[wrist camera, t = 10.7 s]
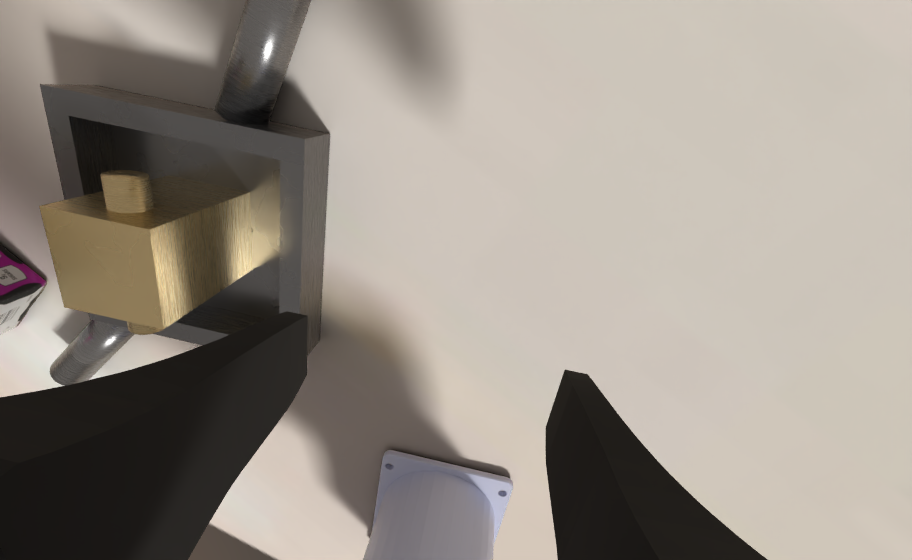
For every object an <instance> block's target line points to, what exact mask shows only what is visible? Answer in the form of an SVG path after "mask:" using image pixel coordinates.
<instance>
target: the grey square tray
mask: <svg viewBox="0 0 912 560" xmlns="http://www.w3.org/2000/svg"><path fill="white" fill-rule="evenodd" d="M40 87H41V92H42V97H43V101H44V106H45V111H46V115H47V120H48V125H49V129H50V134H51V139H52V143H53V148H54V153H55V157H56V162H57V167H58V171H59V176H60V181H61V185H62V190H63V195H64V199H65V200H67V199H71V198H76V197H80V196H84V195H88V194H93V193H97V192H101V191H103V187H102V181H101V176H100V174H101V173H103V172H106V171H113V170H132V171H139V172H144V173H147V174H148V175H149V178H150V180H152V179H156V178H160V177H165V176H174V177H179V178H184V179H188V180H193V181H198V182H203V183H208V184H213V185H218V186H222V187H227V188H232V189H237V190H242V191H247V192H250V205H251V235H252V266H253V270H251V271H250V272H248V273H247V274H245V275H244V276H242V277H241V278H239V279H238V280H236V281H235V282H233V283H232V284H230V285H229V286H227V287H226V288H224V289H223V290H221V291H220V292H218V293H217V294H216V295H214V296H213V297H211V298H210V299H208V300H207V301H205V302H204V303H202V304H201V305H199V306H198V307H196V308H195V309H193V310H192V311H190V312H189V313H187V314H186V315H184V316H183V317H181V318H180V319H178V320H177V321H175V322H174V323H172V324H171V325H169V326H168V327H166V328H165V329H164V330H162V331H159V332H157V333H153V334H156V335H161V336H165V337H169V338H174V339H178V340H182V341H187V342H191V343H195V344H200V345H205V344H208V343H211V342H213V341H216V340H218V339H221V338H223V337H225V336H228V335H230V334H233V333H235V332H237V331H240V330H242V329H244V328H247V327H249V326H251V325H254V324H256V323H258V322H261V321H263V320H265V319H268V318H270V317H273V316H275V315H278V314H280V313H283V312H286V311H288V312H293V313H297V314H302V315H307V316H308V328H307V356H308V354H309V353H310V352H311V351H312V349H313V348H314V347H315V346H316V344H317V343H318V342H319V340H320V320H321V301H322V282H323V262H324V243H325V223H326V204H327V184H328V165H329V145H330V134H329V133H324V132H319V131H315V130H310V129H305V128H300V127H295V126H290V125H285V124H281V123H276V122H271V121H269V123H268V124H262V125H259V124H245V123H237V122H231V121H227V120H225V119H224V118H222V117H221V116H220V115H219V114H218V113H217V112H216V111H215V110H213V109H208V108H203V107H198V106H193V105H188V104H184V103H179V102H174V101H169V100H164V99H159V98H154V97H150V96H145V95H140V94H135V93H130V92H125V91H120V90H116V89H111V88H106V87H101V86H96V85H49V84H40ZM89 316H90V319H91V320H96V321H100V322H104V323H109V324H113V325H117V326H122V327H126V328H128V326H127V321H124V320H119V319H115V318H110V317H106V316H101V315H97V314H92V313H89Z"/></svg>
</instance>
